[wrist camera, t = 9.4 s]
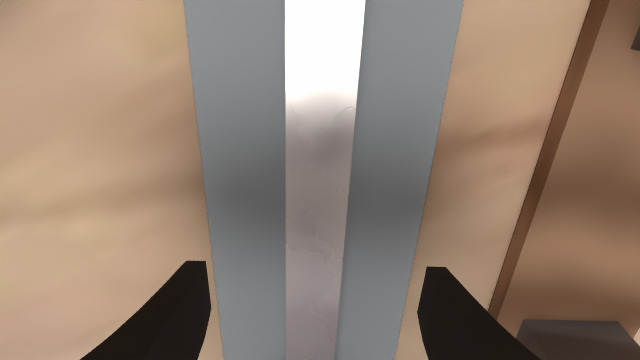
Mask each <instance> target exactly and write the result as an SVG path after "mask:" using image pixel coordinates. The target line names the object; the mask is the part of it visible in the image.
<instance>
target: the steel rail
mask: <svg viewBox="0 0 640 360" xmlns="http://www.w3.org/2000/svg"><path fill="white" fill-rule="evenodd" d="M364 7H365V0H285V66H286V360H334V358H335V346H336V334H337V323H338V311H339V299H340V288H341V276H342V264H343V253H344V241H345V229H346V218H347V206H348V194H349V183H350V171H351V159H352V148H353V136H354V124H355V112H356V101H357V89H358V77H359V66H360V54H361V42H362V31H363V19H364Z"/></svg>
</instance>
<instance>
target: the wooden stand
mask: <svg viewBox="0 0 640 360" xmlns="http://www.w3.org/2000/svg"><path fill="white" fill-rule="evenodd" d="M488 313H489V314H490V315H491V316H492V317H493V318H494V319H495V320H496V321H497V322H499V323H500V324H501V325H502V326H503V327H504V328H505V329H506V330H507V331H508V332H509V333H510V334H511V335H513V336H514V337H515V338H516V339H517V340H518V341H519V342H520V343H522V344H523V345H524V346H525V347H526V348H527V349H529V350H530V351H531V352H532V353H534V354H535V355H536V356H537V357H538V358H540V359H541V360H640V346H639V345H638V344H637V343H636V342H635V341H634V339H633V338H634V336H635V334H636V333H637V331H638V329H639V328H640V0H592V1H591V4H590V7H589V10H588V13H587V16H586V19H585V22H584V25H583V28H582V31H581V34H580V37H579V40H578V43H577V46H576V49H575V52H574V55H573V58H572V61H571V64H570V67H569V70H568V73H567V76H566V79H565V82H564V85H563V88H562V91H561V94H560V97H559V100H558V103H557V106H556V109H555V112H554V115H553V118H552V121H551V124H550V127H549V130H548V133H547V136H546V139H545V142H544V145H543V148H542V151H541V154H540V157H539V160H538V163H537V166H536V169H535V172H534V175H533V178H532V181H531V184H530V187H529V190H528V193H527V196H526V199H525V202H524V205H523V208H522V211H521V214H520V217H519V220H518V223H517V226H516V229H515V232H514V235H513V238H512V241H511V244H510V247H509V250H508V253H507V256H506V259H505V262H504V265H503V268H502V271H501V274H500V277H499V280H498V283H497V286H496V289H495V292H494V295H493V298H492V301H491V304H490V307H489V310H488Z"/></svg>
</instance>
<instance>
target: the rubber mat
mask: <svg viewBox="0 0 640 360" xmlns="http://www.w3.org/2000/svg"><path fill="white" fill-rule="evenodd" d="M463 1H464V0H365V7H364V19H363V31H362V42H361V54H360V66H359V77H358V89H357V101H356V112H355V124H354V136H353V148H352V159H351V171H350V183H349V194H348V206H347V218H346V229H345V241H344V253H343V264H342V276H341V288H340V299H339V311H338V323H337V334H336V346H335V358H334V360H394V358H395V353H396V348H397V342H398V337H399V332H400V327H401V322H402V317H403V311H404V306H405V301H406V296H407V291H408V286H409V280H410V275H411V270H412V265H413V260H414V255H415V249H416V244H417V239H418V234H419V229H420V223H421V218H422V213H423V208H424V203H425V198H426V192H427V187H428V182H429V177H430V172H431V167H432V161H433V156H434V151H435V146H436V141H437V136H438V130H439V125H440V120H441V115H442V110H443V104H444V99H445V94H446V89H447V84H448V79H449V73H450V68H451V63H452V58H453V53H454V48H455V42H456V37H457V32H458V27H459V22H460V17H461V11H462V6H463ZM183 2H184V11H185V20H186V29H187V37H188V46H189V55H190V64H191V73H192V82H193V91H194V99H195V108H196V117H197V126H198V135H199V144H200V153H201V161H202V170H203V179H204V188H205V197H206V206H207V215H208V223H209V232H210V241H211V250H212V259H213V268H214V277H215V285H216V294H217V303H218V312H219V321H220V330H221V339H222V347H223V356H224V360H286V66H285V0H183Z"/></svg>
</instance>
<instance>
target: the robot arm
mask: <svg viewBox="0 0 640 360" xmlns="http://www.w3.org/2000/svg"><path fill="white" fill-rule="evenodd" d="M210 312H211V301H210V293H209V285H208V276H207V268H206V261H186V262H185V263H184V264H183V265H182V266H181V267H180V268H179V269H178V270H177V271H176V272H175V273H174V274H173V275H172V276H171V278H170V279H169V280H168V281H167V282H166V283H165V284H164V285H163V286H162V287H161V288H160V289H159V290H158V291H157V292H156V293H155V294H154V295H153V296H152V297H151V298H150V299H149V300H148V301H147V302H146V303H145V304H144V305H143V306H142V307H141V308H140V309H139V310H138V311H137V312H136V313H135V314H134V315H133V316H132V317H131V318H129V319H128V320H127V321H126V322H125V323H124V324H123V325H122V326H121V327H120V328H118V329H117V330H116V331H115V332H114V333H113V334H112V335H110V336H109V337H108V338H107V339H106V340H104V341H103V342H102V343H101V344H100V345H98V346H97V347H96V348H94V349H93V350H92V351H91V352H89V353H88V354H87V355H85V356H84V357H83V358H81V359H80V360H197V359H198V356H199V353H200V350H201V347H202V345H203V342H204V339H205V335H206V330H207V326H208V321H209V317H210ZM417 314H418V319H419V324H420V330H421V335H422V339H423V343H424V347H425V350H426V353H427V356H428V359H429V360H541V359H540V358H538V357H537V356H536V355H535V354H534V353H532V352H531V351H530V350H529V349H527V348H526V347H525V346H524V345H523V344H522V343H520V342H519V341H518V340H517V339H516V338H515V337H514V336H513V335H511V334H510V333H509V332H508V331H507V330H506V329H505V328H504V327H503V326H502V325H501V324H500V323H499V322H497V321H496V320H495V319H494V318H493V317H492V316H491V315H490V314H489V313H488V312H487V311H486V310H485V309H484V308H483V307H482V306H481V305H480V304H479V303H478V301H477V300H476V299H475V298H474V297H473V296H472V295H471V294H470V293H469V292H468V291H467V290H466V289H465V288H464V287H463V285H462V284H461V283H460V282H459V281H458V280H457V279H456V278H455V277H454V276H453V275H452V273H451V272H450V271H449V270H448V269H447V268H446V267H427V269H426V274H425V278H424V283H423V288H422V292H421V297H420V302H419V306H418V311H417Z"/></svg>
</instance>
